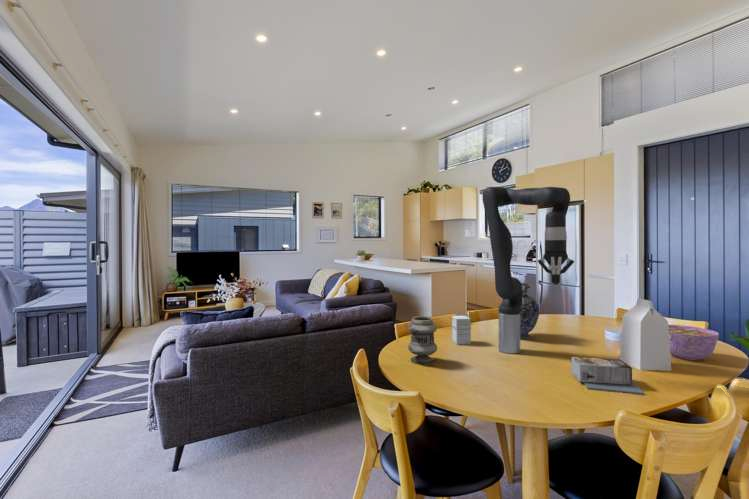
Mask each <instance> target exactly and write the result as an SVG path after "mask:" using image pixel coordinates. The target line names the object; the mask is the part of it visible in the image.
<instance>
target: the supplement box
mask: <svg viewBox="0 0 749 499" xmlns="http://www.w3.org/2000/svg"><path fill="white" fill-rule="evenodd" d="M471 319H472V318H470V317H468V316H467V315H452V316H451V340H452V341H453V342H454V343H455V344H456V345H457V346H458V345H459V346H461V345H471V344H472V340H471V339H472V333H471V332H472V329H471V328H472V325H471V324H472V323H471V322H472V320H471Z"/></svg>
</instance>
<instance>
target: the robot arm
mask: <svg viewBox="0 0 749 499" xmlns="http://www.w3.org/2000/svg"><path fill="white" fill-rule="evenodd" d="M482 204H483V208H484V211H485V216H486V220H487V225H488V226H487V227H488V231H489V240H490V247H491V253H492V259H493V260H492V261H493V267H494V283H495V284H494V286H495V291H496V293H497V295H498V297H500V298H501V299H502V300H501V303H500V305H499V306H498V352H501V353H505V354H519V353H521V340H520V310H521V307H522V294H523V289H522V284H521V283H522V282H521V280H519V279H518V278H517V277H513V276H512V271H511V261H512V256H513V250H514V249H513V248H514V247H513V239H512V238H513V237H512V233H511V231H510V229H509V227H508V226H507V225H506V223H505V222H504V220H503V219H502V217H501V214H500V211H499V208H501V207H505V206H510V205H522V206H551V207H552V209H551V211H550V212H547V213H546V215H545V219H544V220H545V228H544V229H545V230H544V254H543V256H542V257H541V258H540V259H538V260H537V263H538V264H539V265H540V266H541V267H542V269H543V270H544V271H545V272H546V273H548V274H550V277H551V278H550V279H551V280H550V281H551V283H552V285H559V283H560V282H561V275H562V274H565V273H566V272H568V270H569V268H571V266H572V265H573V264H574V263H575V261H574V259H571V258H569V255H568V253H567V242H568V241H567V240H568V239H567V238H568V237H567V229H566V227H567V218H566V217H567V214H568V210H569V206H570V204H571V194H570V192H569V190H568V188H565V187H557V186H545V187H544V186H543V187H529V188H527V187H526V188H521V189H512V188H507V187H503V186H488V187H486V188H484V189H483V192H482ZM545 263H547V264H548V265H549V267H550V269H549V268H548V267H547V265H546V264H545ZM563 264H565V265H564V266H563ZM562 266H563V267H562Z"/></svg>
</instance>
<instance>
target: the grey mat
mask: <svg viewBox="0 0 749 499" xmlns="http://www.w3.org/2000/svg"><path fill="white" fill-rule="evenodd" d="M582 383H583V384H584V386H585V387H586V389H587V390H594V391H604V392H613V393H620V392H622V393H621V394H630V393H632V394H631V395H641V396H642V395H643V396H645V392H644V391H643V390H642V389H641V388H640V387H639V386H638V385H637V384H636V383H635V382H634V381H633V380H632V385H623V384H609V383H595V382H582Z"/></svg>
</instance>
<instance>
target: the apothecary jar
mask: <svg viewBox="0 0 749 499" xmlns="http://www.w3.org/2000/svg"><path fill="white" fill-rule="evenodd" d="M433 321H434V320H433V317H431V316H427V315H426V316H425V315H420V316H419V315H418V316H417V315H416V316H413V317H412V318H411V322H409V324H408V328H407V329H408V331H410V342H409V343H408V346H407V349H408V351H409V352H410V353H411V354H413V355H415V356H412V357H411V358H410V361H411V363H414V364H416V365H417V364H418V365H431V364H433V363H435V358H433V357H431V355H433V354H435V353H436V352H437V350H438V345H437V344H436V343H435V332H436V331H437V325H436V323H434V322H433Z"/></svg>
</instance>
